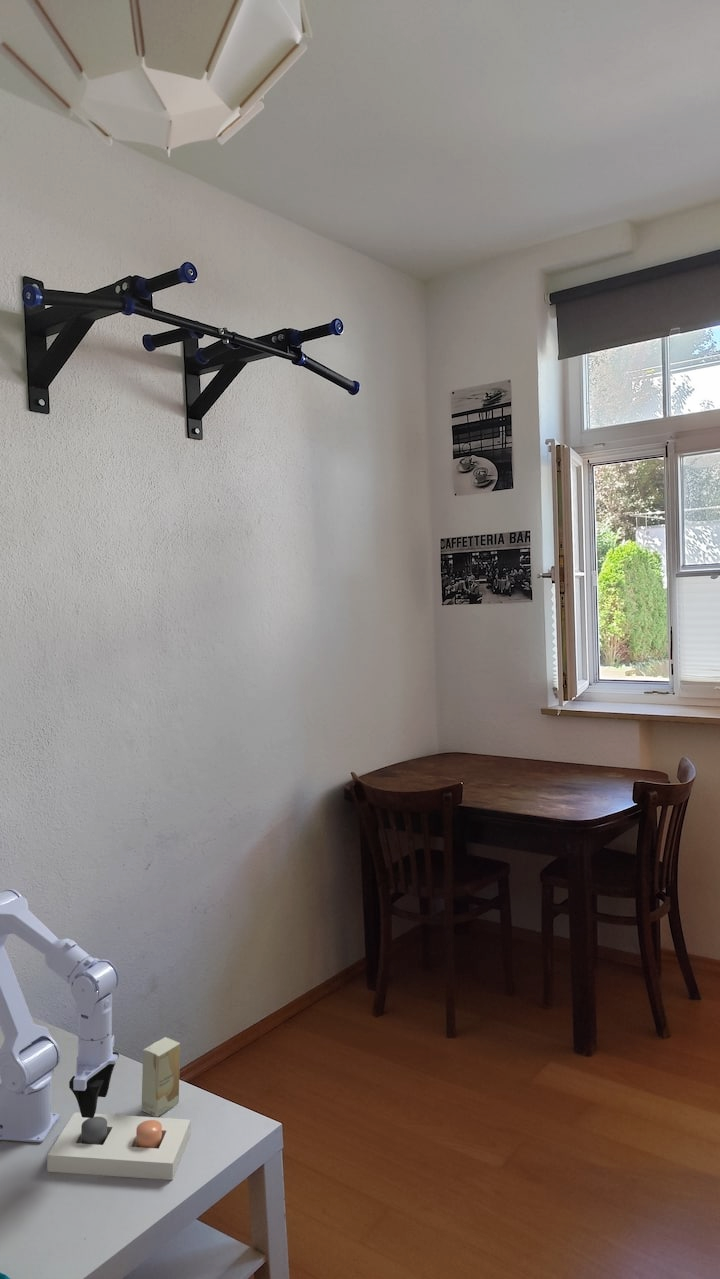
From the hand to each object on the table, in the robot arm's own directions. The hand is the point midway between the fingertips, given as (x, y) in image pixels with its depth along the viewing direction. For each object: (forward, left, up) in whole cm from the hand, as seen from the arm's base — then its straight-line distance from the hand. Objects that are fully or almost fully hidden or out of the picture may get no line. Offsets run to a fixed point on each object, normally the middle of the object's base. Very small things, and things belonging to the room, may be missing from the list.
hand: (94, 1105), depth 153 cm
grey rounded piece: (0, 0, -6) cm, 6 cm away
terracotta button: (+10, 0, -6) cm, 12 cm away
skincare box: (+8, +14, -9) cm, 18 cm away
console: (+5, 0, -8) cm, 10 cm away
